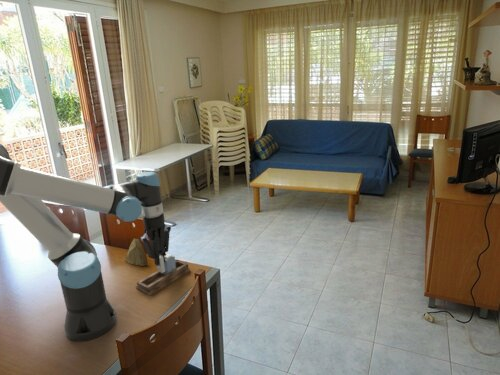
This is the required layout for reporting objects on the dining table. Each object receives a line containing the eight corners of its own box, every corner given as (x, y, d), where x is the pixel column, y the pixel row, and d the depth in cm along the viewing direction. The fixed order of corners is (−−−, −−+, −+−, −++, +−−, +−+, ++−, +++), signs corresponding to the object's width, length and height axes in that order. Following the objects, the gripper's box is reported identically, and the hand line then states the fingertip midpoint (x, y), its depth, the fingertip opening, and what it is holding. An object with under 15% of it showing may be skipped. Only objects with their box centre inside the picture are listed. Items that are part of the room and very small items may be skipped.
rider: (168, 276, 140) (166, 258, 138) (162, 274, 142) (160, 256, 140) (176, 272, 143) (174, 254, 141) (170, 269, 145) (168, 252, 143)
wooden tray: (150, 295, 131) (149, 288, 130) (136, 288, 136) (135, 281, 135) (190, 270, 146) (189, 264, 145) (176, 265, 151) (175, 258, 150)
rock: (154, 259, 152) (149, 246, 160) (140, 248, 147) (135, 236, 155) (135, 277, 151) (130, 264, 159) (120, 267, 146) (116, 254, 154)
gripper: (144, 222, 124) (154, 282, 132) (173, 210, 134) (180, 266, 142) (131, 218, 129) (141, 276, 136) (160, 206, 138) (168, 261, 146)
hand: (161, 271), depth 139 cm, fingers closed
